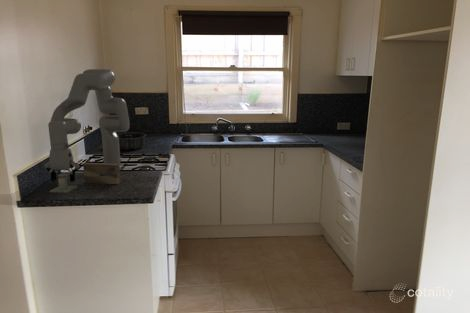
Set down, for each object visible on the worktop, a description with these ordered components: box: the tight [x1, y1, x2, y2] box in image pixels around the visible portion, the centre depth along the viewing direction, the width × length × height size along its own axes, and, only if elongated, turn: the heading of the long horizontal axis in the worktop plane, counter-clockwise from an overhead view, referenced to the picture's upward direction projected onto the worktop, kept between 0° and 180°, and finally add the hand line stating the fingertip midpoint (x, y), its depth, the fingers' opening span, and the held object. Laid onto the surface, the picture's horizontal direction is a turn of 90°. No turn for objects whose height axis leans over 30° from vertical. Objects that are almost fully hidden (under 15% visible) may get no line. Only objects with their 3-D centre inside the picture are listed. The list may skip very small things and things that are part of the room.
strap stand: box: [82, 162, 121, 185], centre depth 189 cm, size 3×18×10 cm, turn 83°
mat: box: [49, 185, 78, 194], centre depth 178 cm, size 9×9×1 cm
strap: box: [100, 168, 115, 176], centre depth 180 cm, size 11×2×1 cm, turn 173°
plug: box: [57, 173, 69, 190], centre depth 177 cm, size 4×4×7 cm
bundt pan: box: [116, 132, 147, 151], centre depth 279 cm, size 26×26×10 cm
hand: (63, 180), depth 177 cm, fingers open, 9 cm apart
